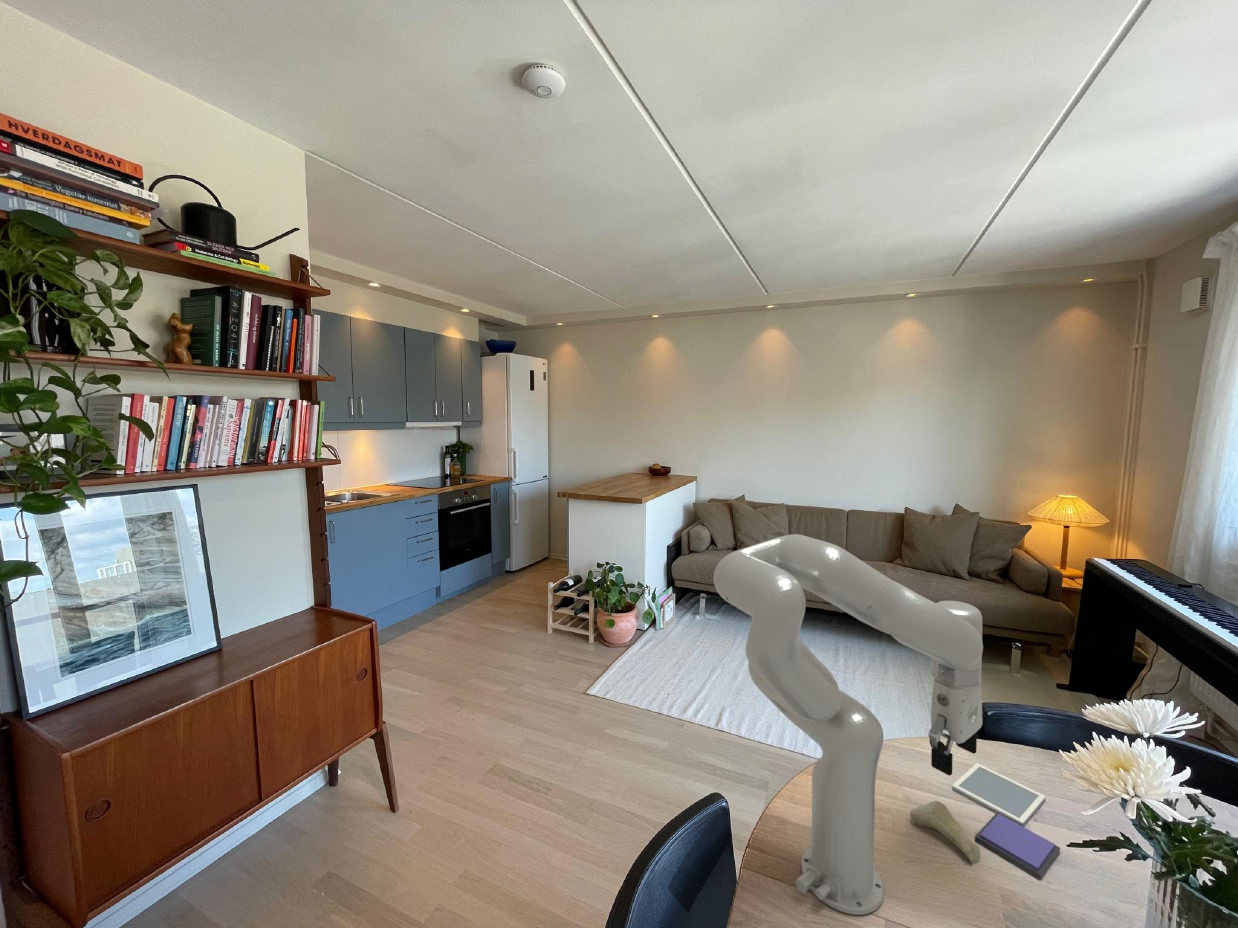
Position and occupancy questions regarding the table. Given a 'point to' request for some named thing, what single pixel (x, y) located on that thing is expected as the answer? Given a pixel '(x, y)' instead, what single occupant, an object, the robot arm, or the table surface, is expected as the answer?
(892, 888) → the table surface
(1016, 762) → the table surface
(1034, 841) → the ink pad
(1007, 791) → the white framed grey panel
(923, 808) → the beige curved piece
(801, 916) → the table surface
